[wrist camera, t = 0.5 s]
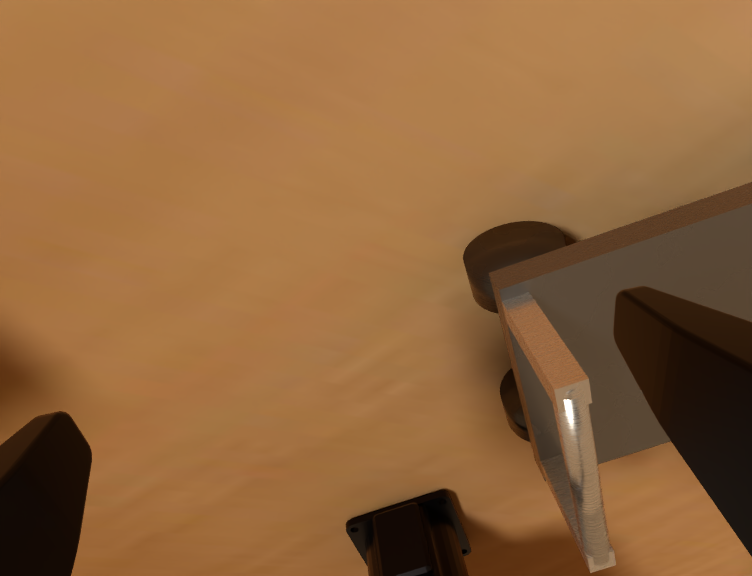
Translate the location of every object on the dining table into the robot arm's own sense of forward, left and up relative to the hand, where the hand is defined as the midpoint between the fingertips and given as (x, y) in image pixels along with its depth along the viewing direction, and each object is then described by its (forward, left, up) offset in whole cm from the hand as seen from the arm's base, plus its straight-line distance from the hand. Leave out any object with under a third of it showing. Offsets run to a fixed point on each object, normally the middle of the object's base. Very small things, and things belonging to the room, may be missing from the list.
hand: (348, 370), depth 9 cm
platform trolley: (-11, -12, -14) cm, 22 cm away
